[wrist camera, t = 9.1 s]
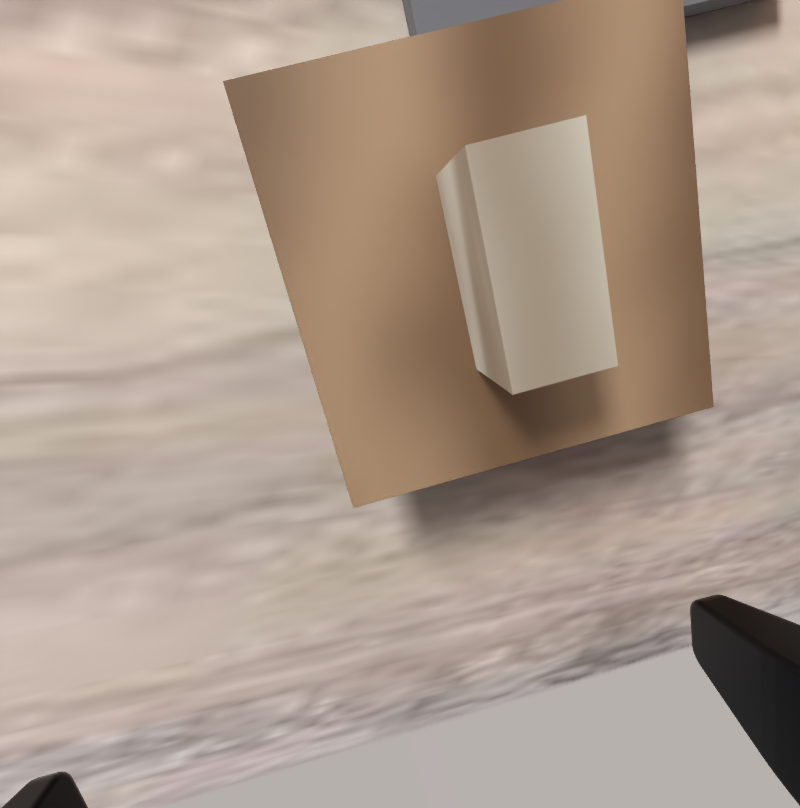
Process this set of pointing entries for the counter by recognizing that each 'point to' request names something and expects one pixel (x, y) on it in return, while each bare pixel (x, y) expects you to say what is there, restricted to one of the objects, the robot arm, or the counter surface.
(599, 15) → the lid
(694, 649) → the robot arm
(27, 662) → the counter surface
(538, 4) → the mat
